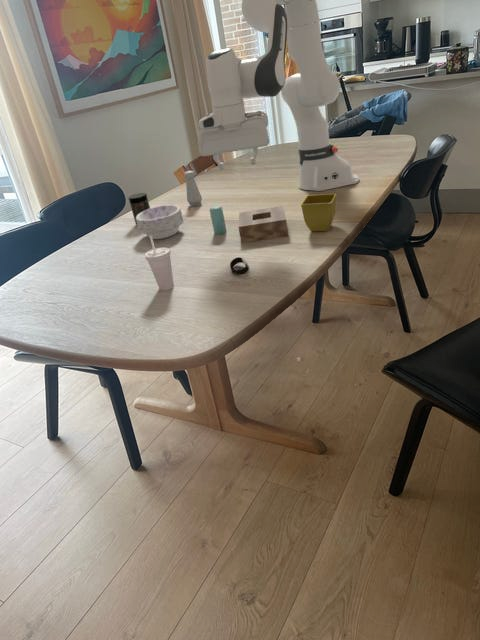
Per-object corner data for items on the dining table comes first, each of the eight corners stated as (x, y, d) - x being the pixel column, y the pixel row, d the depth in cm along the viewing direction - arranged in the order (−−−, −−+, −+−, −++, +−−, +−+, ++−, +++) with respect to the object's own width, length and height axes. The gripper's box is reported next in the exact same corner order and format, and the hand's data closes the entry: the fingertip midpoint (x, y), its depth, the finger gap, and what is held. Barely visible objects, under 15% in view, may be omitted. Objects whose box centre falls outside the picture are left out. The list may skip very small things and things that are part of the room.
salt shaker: (200, 206, 183) (193, 172, 176) (186, 207, 184) (179, 174, 178) (204, 201, 188) (197, 168, 181) (191, 203, 189) (183, 170, 183)
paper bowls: (149, 246, 151) (142, 223, 147) (136, 236, 163) (129, 213, 160) (192, 232, 156) (187, 209, 152) (176, 223, 168) (171, 201, 165)
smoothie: (155, 284, 124) (141, 233, 117) (179, 279, 124) (166, 229, 117) (153, 294, 118) (138, 242, 111) (178, 290, 118) (165, 237, 111)
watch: (253, 273, 120) (251, 260, 118) (235, 278, 119) (233, 265, 117) (244, 263, 126) (242, 251, 125) (227, 268, 125) (225, 255, 124)
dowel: (226, 229, 153) (222, 205, 149) (226, 233, 150) (221, 208, 146) (214, 231, 154) (209, 207, 150) (213, 235, 150) (209, 210, 146)
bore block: (285, 221, 151) (283, 205, 148) (288, 235, 138) (286, 219, 136) (241, 227, 152) (239, 212, 150) (241, 243, 140) (238, 226, 137)
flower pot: (338, 222, 141) (336, 193, 137) (334, 233, 134) (331, 202, 130) (309, 224, 144) (306, 195, 140) (303, 234, 137) (300, 204, 133)
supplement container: (152, 218, 179) (145, 191, 174) (155, 223, 173) (147, 195, 168) (135, 223, 178) (127, 195, 173) (137, 227, 172) (129, 199, 167)
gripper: (266, 108, 133) (272, 159, 139) (195, 120, 134) (204, 170, 141) (267, 110, 127) (273, 163, 134) (193, 123, 129) (203, 174, 136)
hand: (237, 166), depth 137 cm, fingers open, 8 cm apart
